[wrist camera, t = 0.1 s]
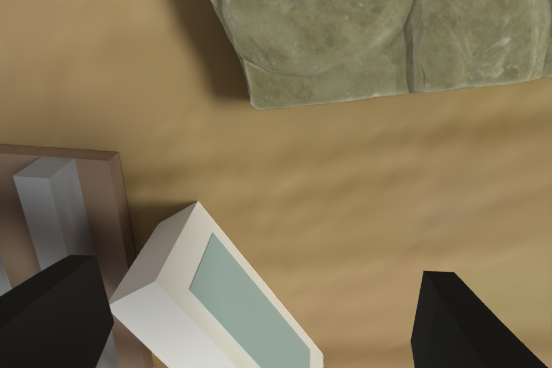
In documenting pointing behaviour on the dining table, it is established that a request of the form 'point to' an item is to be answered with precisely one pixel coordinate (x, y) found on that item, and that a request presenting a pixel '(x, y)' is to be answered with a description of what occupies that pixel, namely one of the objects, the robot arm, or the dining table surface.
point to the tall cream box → (206, 302)
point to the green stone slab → (383, 46)
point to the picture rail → (68, 226)
